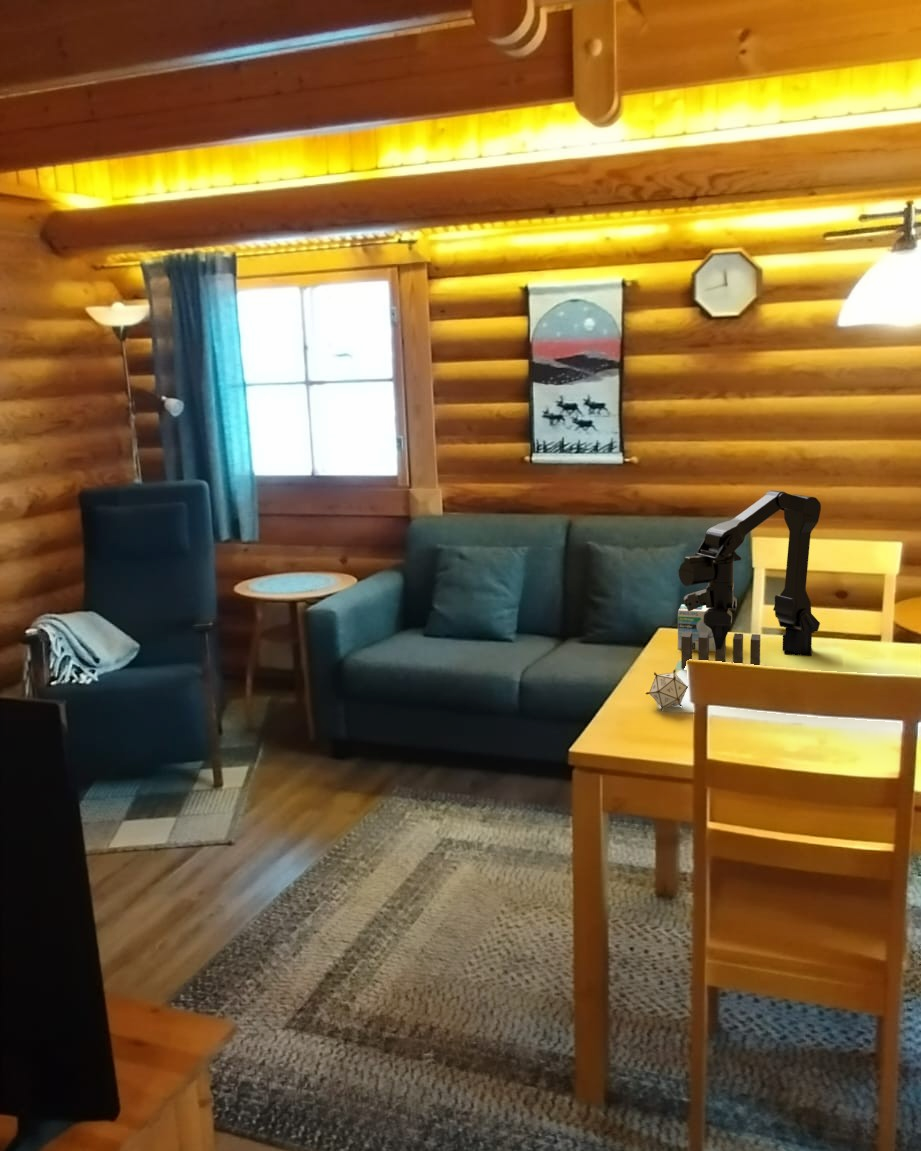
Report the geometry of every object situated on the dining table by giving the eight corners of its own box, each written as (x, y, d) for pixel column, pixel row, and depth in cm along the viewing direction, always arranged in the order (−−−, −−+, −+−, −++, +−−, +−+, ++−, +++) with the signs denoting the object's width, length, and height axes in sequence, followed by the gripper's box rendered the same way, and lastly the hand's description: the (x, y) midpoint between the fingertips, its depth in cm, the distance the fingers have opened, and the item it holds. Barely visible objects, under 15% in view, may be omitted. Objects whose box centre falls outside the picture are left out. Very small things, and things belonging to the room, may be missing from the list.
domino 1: (692, 662, 250) (692, 631, 249) (689, 669, 246) (689, 637, 244) (683, 662, 251) (684, 631, 249) (681, 668, 247) (681, 636, 245)
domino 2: (708, 663, 249) (709, 632, 248) (706, 669, 245) (707, 637, 243) (700, 663, 250) (700, 631, 248) (698, 669, 245) (698, 637, 244)
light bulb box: (677, 650, 263) (677, 609, 260) (680, 643, 269) (680, 603, 267) (719, 652, 259) (720, 611, 257) (722, 645, 265) (722, 605, 263)
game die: (675, 725, 220) (690, 699, 213) (638, 711, 221) (652, 684, 214) (683, 695, 226) (698, 668, 219) (646, 681, 227) (660, 654, 220)
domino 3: (725, 664, 248) (725, 632, 246) (723, 670, 243) (724, 638, 242) (717, 664, 249) (717, 632, 247) (715, 670, 244) (715, 638, 242)
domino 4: (742, 665, 247) (743, 633, 245) (741, 671, 242) (741, 639, 240) (734, 665, 247) (734, 633, 246) (732, 671, 243) (733, 638, 241)
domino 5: (759, 666, 245) (760, 634, 244) (758, 672, 241) (759, 640, 239) (751, 666, 246) (751, 634, 244) (750, 672, 241) (750, 639, 240)
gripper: (690, 571, 253) (690, 632, 256) (681, 588, 235) (681, 653, 239) (737, 572, 249) (736, 634, 252) (731, 589, 232) (730, 655, 235)
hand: (720, 643), depth 245 cm, fingers open, 9 cm apart
